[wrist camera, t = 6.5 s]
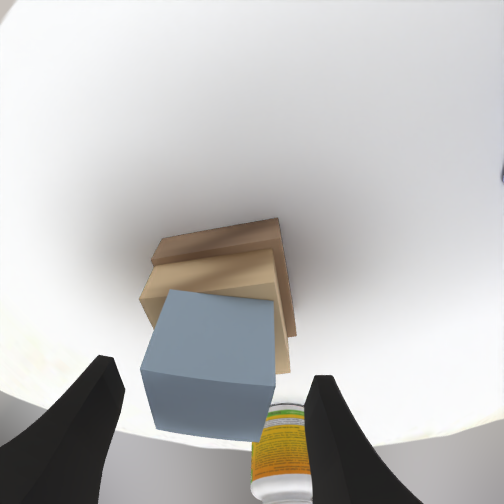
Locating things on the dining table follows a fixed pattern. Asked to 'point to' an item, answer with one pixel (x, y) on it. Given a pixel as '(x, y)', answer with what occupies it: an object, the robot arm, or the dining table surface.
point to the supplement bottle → (282, 459)
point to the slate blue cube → (211, 366)
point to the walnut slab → (233, 252)
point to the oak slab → (223, 288)
